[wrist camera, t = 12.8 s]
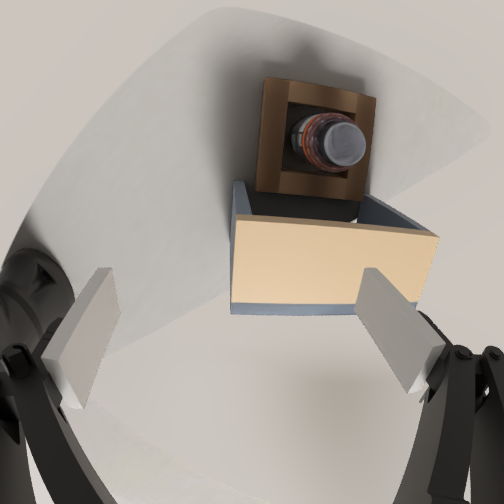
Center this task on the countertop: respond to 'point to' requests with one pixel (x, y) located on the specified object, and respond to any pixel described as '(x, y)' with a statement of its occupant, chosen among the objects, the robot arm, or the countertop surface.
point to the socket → (273, 134)
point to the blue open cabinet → (322, 258)
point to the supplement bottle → (327, 141)
